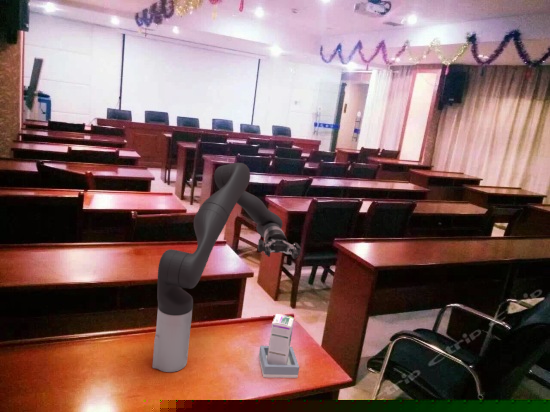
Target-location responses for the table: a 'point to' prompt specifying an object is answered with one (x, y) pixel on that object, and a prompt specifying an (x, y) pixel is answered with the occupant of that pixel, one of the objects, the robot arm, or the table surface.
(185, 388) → the table surface
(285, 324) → the syrup box
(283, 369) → the collar plate
